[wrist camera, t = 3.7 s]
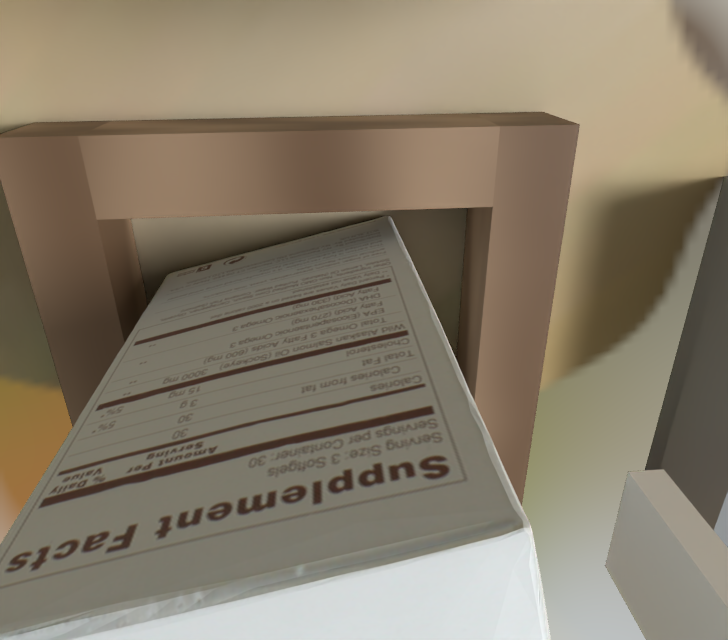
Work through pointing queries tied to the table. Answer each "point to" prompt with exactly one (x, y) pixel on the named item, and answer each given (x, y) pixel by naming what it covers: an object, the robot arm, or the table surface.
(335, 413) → the supplement box
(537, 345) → the walnut collar
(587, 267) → the table surface
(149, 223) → the table surface
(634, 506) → the robot arm
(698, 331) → the grey tray
